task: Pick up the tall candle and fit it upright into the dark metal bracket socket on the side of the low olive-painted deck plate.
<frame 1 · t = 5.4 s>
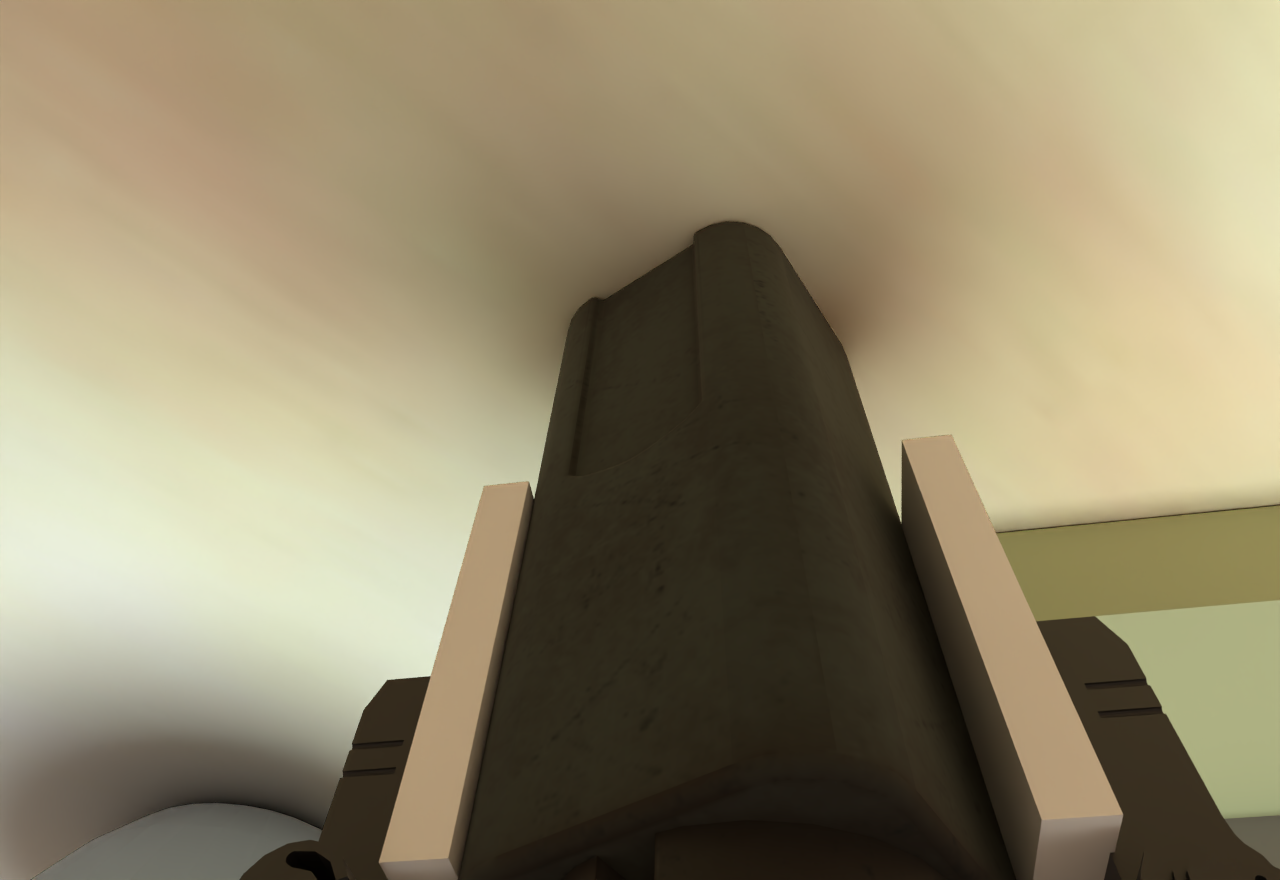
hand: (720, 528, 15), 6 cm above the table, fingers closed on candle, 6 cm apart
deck: (1072, 710, 26), on the table
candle: (708, 350, 20), on the table, touching gripper
vase: (256, 860, 32), on the table
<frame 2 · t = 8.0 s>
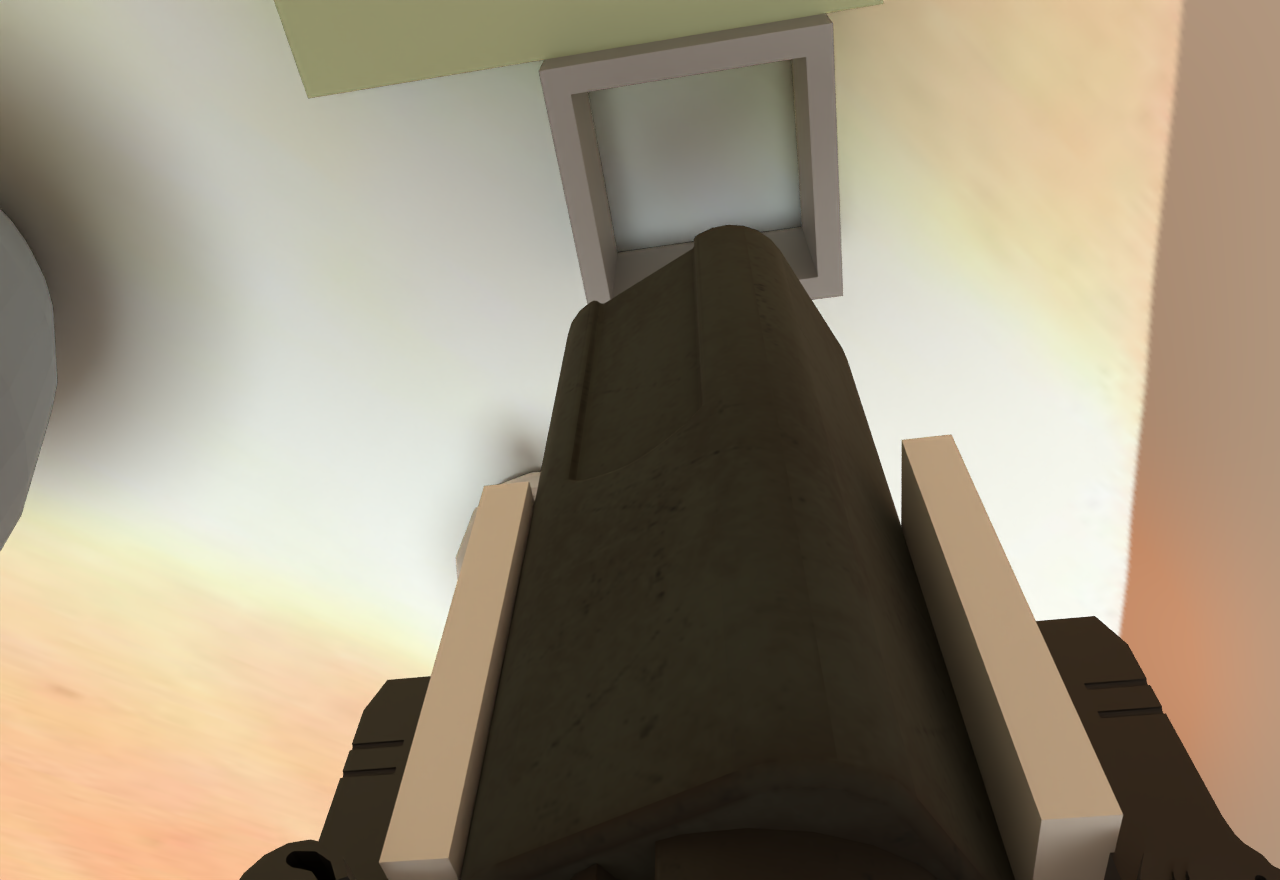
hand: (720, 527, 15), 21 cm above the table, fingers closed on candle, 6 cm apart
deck: (586, 0, 30), on the table
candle: (708, 353, 20), point 15 cm above the table, touching gripper
cup: (550, 527, 43), on the table
when the fingers open (7 cm above the table, at t = 10.7 s): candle drops 1 cm, resting in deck.
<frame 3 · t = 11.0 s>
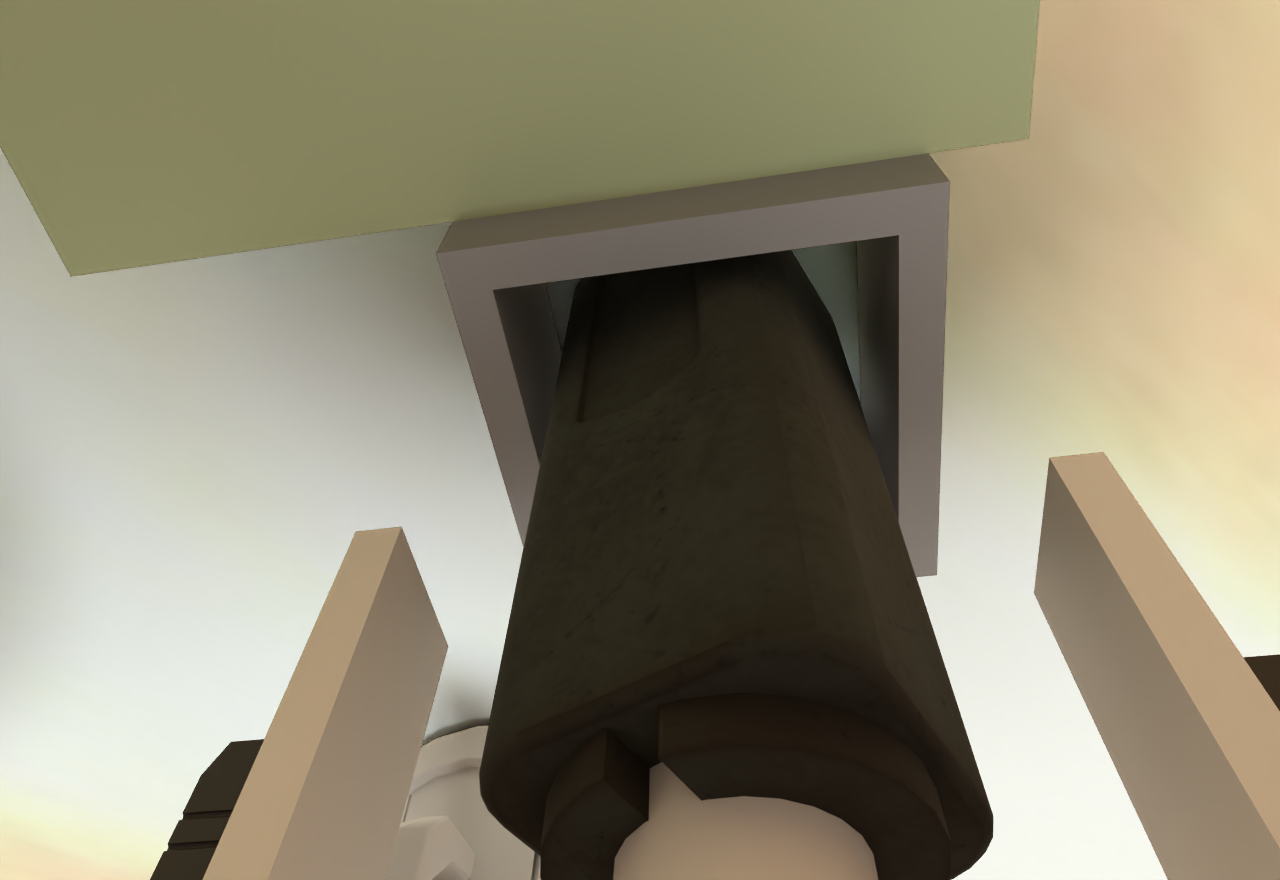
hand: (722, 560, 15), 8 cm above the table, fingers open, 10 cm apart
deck: (530, 112, 19), on the table
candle: (704, 319, 21), resting in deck
cup: (502, 782, 32), on the table
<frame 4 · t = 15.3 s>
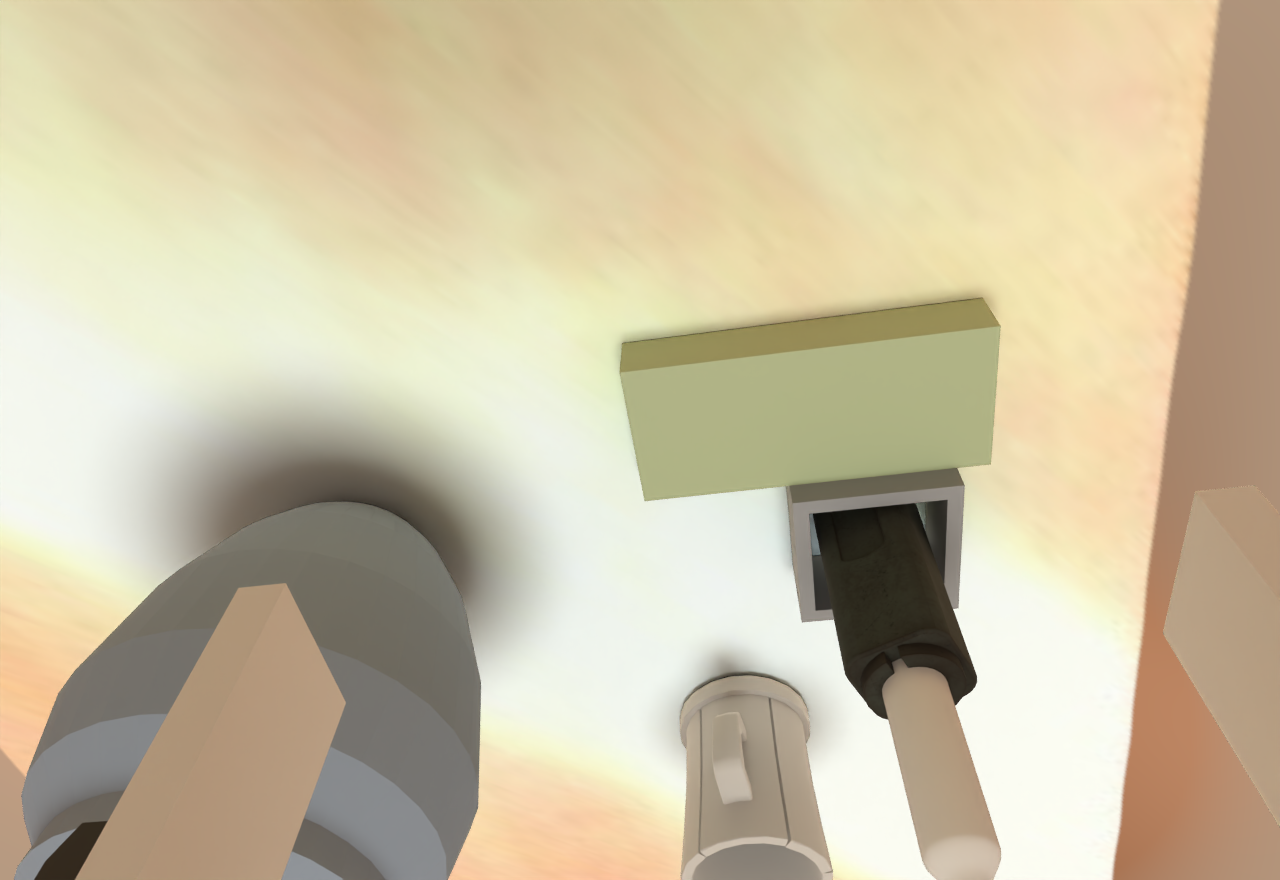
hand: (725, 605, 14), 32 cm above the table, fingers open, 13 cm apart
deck: (806, 435, 50), on the table
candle: (862, 502, 53), resting in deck
cup: (735, 706, 63), on the table
vase: (364, 550, 56), on the table
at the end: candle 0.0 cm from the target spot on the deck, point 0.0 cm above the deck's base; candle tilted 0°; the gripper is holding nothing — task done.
